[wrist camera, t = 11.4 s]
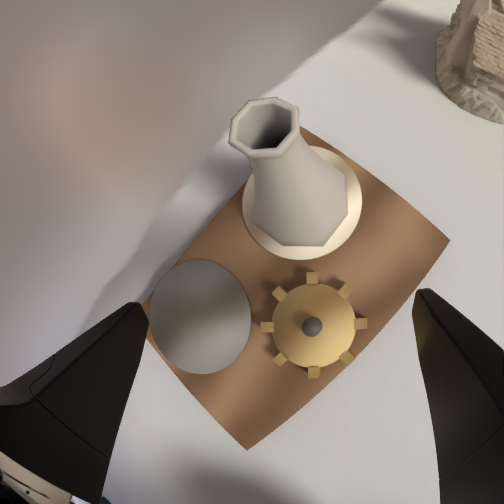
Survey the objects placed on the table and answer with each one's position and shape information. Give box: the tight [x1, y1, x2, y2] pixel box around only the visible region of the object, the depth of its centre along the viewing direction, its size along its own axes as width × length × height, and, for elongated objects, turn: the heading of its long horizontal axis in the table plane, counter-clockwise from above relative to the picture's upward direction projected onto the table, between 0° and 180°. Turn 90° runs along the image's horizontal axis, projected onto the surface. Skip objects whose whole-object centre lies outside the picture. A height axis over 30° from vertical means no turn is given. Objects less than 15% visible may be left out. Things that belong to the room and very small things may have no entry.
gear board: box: [142, 126, 450, 450], centre depth 20 cm, size 15×22×4 cm
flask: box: [228, 97, 348, 247], centre depth 16 cm, size 7×7×10 cm
